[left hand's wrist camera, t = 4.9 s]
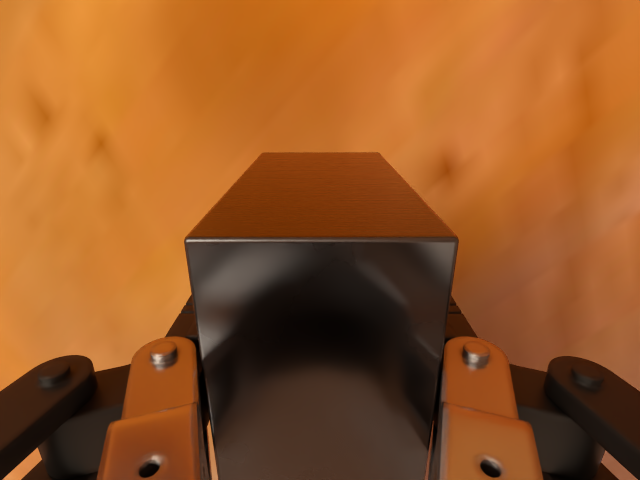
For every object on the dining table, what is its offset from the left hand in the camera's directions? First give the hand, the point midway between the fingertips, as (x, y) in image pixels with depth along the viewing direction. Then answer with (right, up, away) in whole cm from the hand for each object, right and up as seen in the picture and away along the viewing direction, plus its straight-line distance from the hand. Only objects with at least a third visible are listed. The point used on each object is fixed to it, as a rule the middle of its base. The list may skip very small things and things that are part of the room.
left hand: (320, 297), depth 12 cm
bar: (0, -7, +8) cm, 11 cm away
